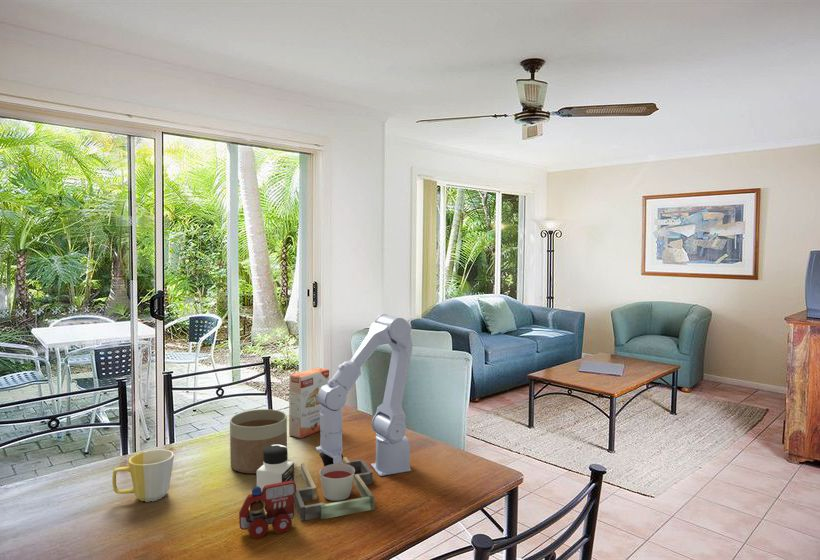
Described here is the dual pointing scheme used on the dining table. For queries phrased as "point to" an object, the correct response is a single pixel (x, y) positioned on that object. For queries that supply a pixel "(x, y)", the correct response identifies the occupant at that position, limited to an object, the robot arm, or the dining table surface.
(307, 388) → the cracker box
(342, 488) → the candle
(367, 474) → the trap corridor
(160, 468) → the mug
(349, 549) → the dining table surface
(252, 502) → the toy fire truck
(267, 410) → the planter
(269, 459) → the medicine bottle
